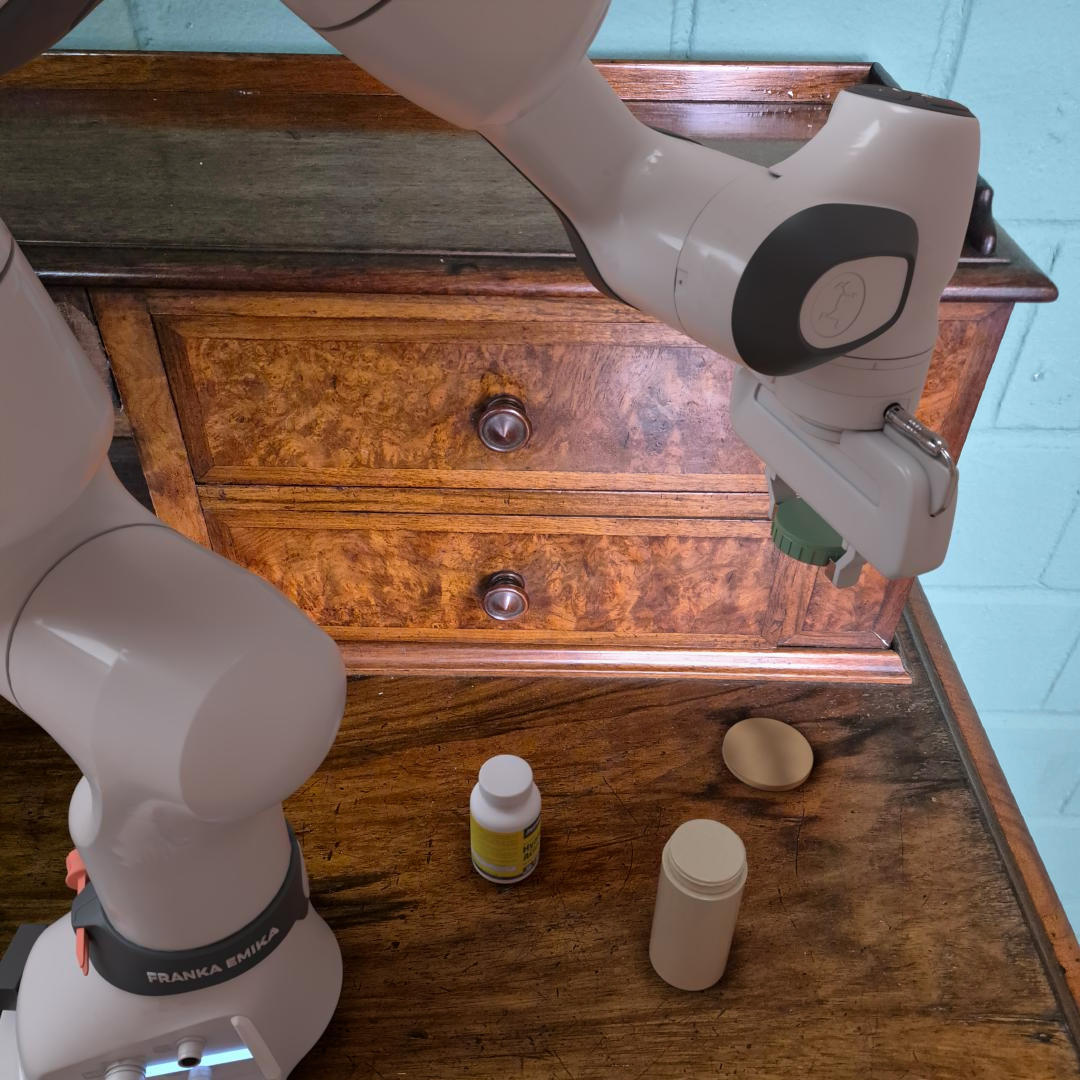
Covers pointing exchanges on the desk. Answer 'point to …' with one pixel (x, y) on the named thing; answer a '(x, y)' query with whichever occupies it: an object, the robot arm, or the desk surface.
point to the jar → (697, 904)
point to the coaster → (767, 754)
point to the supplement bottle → (505, 820)
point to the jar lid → (804, 533)
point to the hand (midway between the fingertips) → (809, 550)
